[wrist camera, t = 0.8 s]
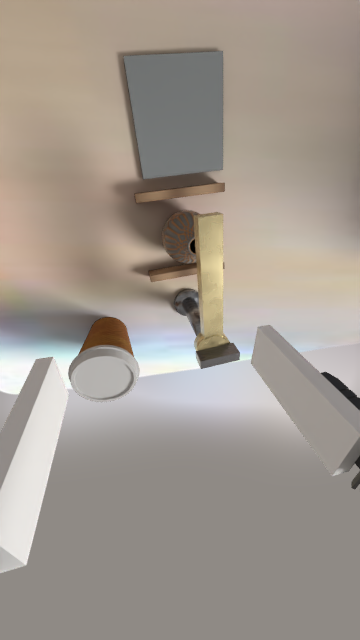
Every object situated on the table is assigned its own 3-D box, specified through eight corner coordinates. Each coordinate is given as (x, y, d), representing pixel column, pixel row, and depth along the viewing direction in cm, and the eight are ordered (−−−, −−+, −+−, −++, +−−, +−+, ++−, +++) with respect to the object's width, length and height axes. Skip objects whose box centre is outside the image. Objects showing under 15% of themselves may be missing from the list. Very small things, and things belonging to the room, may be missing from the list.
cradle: (217, 182, 32) (224, 182, 30) (218, 264, 38) (224, 269, 36) (134, 193, 30) (135, 194, 28) (149, 276, 37) (151, 282, 35)
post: (200, 286, 40) (226, 322, 30) (201, 310, 43) (226, 350, 32) (172, 291, 39) (190, 329, 29) (176, 316, 42) (193, 358, 32)
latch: (228, 210, 22) (247, 214, 19) (226, 349, 32) (238, 369, 29) (180, 217, 22) (190, 223, 18) (193, 357, 32) (201, 378, 28)
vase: (149, 228, 33) (157, 240, 26) (187, 197, 32) (206, 201, 25) (176, 264, 37) (189, 284, 30) (210, 237, 36) (233, 251, 29)
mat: (221, 53, 25) (223, 51, 25) (221, 169, 31) (222, 169, 31) (123, 58, 24) (123, 55, 23) (143, 179, 30) (143, 179, 29)
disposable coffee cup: (144, 339, 43) (151, 387, 33) (99, 359, 43) (92, 412, 33) (120, 300, 38) (119, 341, 28) (69, 322, 38) (49, 372, 28)
